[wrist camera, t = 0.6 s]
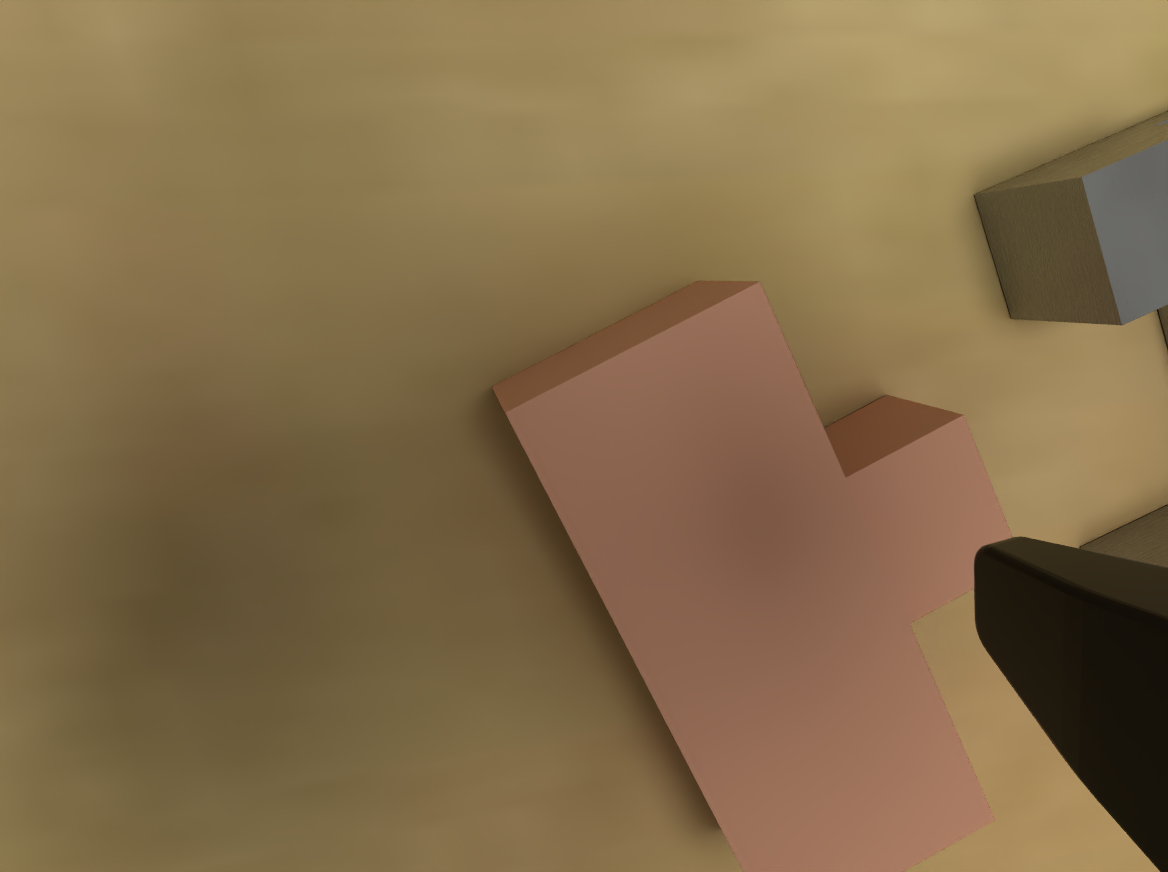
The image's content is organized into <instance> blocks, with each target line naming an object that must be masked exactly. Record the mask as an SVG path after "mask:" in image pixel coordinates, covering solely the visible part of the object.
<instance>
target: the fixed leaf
mask: <svg viewBox="0 0 1168 872" xmlns="http://www.w3.org/2000/svg"><path fill="white" fill-rule="evenodd" d="M975 199H976V202H977V205H978V209H979V212H980V215H981V219H982V222H983V225H984V229H985V232H986V235H987V238H988V242H989V245H990V248H991V252H992V255H993V258H994V262H995V265H996V268H997V272H998V275H999V278H1000V282H1001V285H1002V288H1003V292H1004V295H1005V298H1006V302H1007V305H1008V308H1009V312H1010V315H1011V318H1012V319H1021V320H1038V321H1056V322H1073V323H1091V324H1108V325H1124V324H1126V323H1128V322H1130V321H1133V320H1135V319H1137V318H1139V317H1141V316H1144V315H1146V314H1148V313H1150V312H1152V311H1155V310H1157V309H1158V311H1159V315H1160V319H1161V322H1162V326H1163V330H1164V334H1165V338H1166V341H1167V345H1168V111H1167V112H1164V113H1162V114H1160V115H1158V116H1155V117H1153V118H1151V119H1148V120H1146V121H1144V122H1141V123H1139V124H1137V125H1134V126H1132V127H1130V128H1127V129H1125V130H1123V131H1120V132H1118V133H1116V134H1114V135H1111V136H1109V137H1107V138H1104V139H1102V140H1100V141H1097V142H1095V143H1093V144H1090V145H1088V146H1086V147H1083V148H1081V149H1079V150H1076V151H1074V152H1072V153H1070V154H1067V155H1065V156H1063V157H1060V158H1058V159H1056V160H1053V161H1051V162H1049V163H1046V164H1044V165H1042V166H1039V167H1037V168H1035V169H1032V170H1030V171H1028V172H1026V173H1023V174H1021V175H1019V176H1016V177H1014V178H1012V179H1009V180H1007V181H1005V182H1002V183H1000V184H998V185H995V186H993V187H991V188H989V189H986V190H984V191H982V192H979V193H977V194H975ZM1080 548H1081V549H1083V550H1087V551H1092V552H1097V553H1101V554H1106V555H1111V556H1115V557H1120V558H1125V559H1129V560H1134V561H1139V562H1144V563H1148V564H1153V565H1158V566H1162V567H1167V568H1168V505H1167V506H1165V507H1163V508H1161V509H1159V510H1157V511H1155V512H1152V513H1150V514H1148V515H1146V516H1144V517H1142V518H1140V519H1138V520H1136V521H1134V522H1132V523H1130V524H1127V525H1125V526H1123V527H1121V528H1119V529H1117V530H1115V531H1113V532H1111V533H1109V534H1107V535H1104V536H1102V537H1100V538H1098V539H1096V540H1094V541H1092V542H1090V543H1088V544H1086V545H1084V546H1082V547H1080Z"/></svg>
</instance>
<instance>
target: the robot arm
mask: <svg viewBox="0 0 1168 872" xmlns="http://www.w3.org/2000/svg"><path fill="white" fill-rule="evenodd" d="M974 599H975V624H976V629H977V633H978V635H979V638H980V640H981V642H982V644H983V646H984V648H985V649H986V651H987V652H988V654H989V655H990V656H991V658H992V659H993V661H994V662H995V663H996V665H997V666H998V668H999V669H1000V670H1001V672H1002V673H1003V674H1004V676H1005V677H1006V679H1007V680H1008V681H1009V683H1010V684H1011V686H1012V687H1013V688H1014V690H1015V691H1016V693H1017V694H1018V695H1019V697H1020V698H1021V700H1022V701H1023V702H1024V704H1025V705H1026V707H1027V708H1028V709H1029V711H1030V712H1031V714H1032V715H1033V716H1034V718H1035V719H1036V721H1037V722H1038V723H1039V725H1040V726H1041V728H1042V729H1043V730H1044V732H1045V733H1046V735H1047V736H1048V737H1049V739H1050V740H1051V742H1052V743H1053V744H1054V746H1055V747H1056V749H1057V750H1058V751H1059V753H1060V754H1061V755H1062V757H1063V758H1064V759H1065V761H1066V762H1067V763H1068V765H1069V766H1070V767H1071V769H1072V770H1073V771H1074V773H1075V774H1076V775H1077V776H1078V778H1079V779H1080V780H1081V781H1082V782H1083V784H1084V785H1085V786H1086V787H1087V788H1088V790H1089V791H1090V792H1091V793H1092V794H1093V795H1094V797H1095V798H1096V799H1097V800H1098V801H1099V803H1100V804H1101V805H1102V806H1103V807H1104V808H1105V809H1106V810H1107V812H1108V813H1109V814H1110V815H1111V816H1112V817H1113V818H1114V820H1115V821H1116V822H1117V823H1118V824H1119V825H1120V826H1121V828H1122V829H1123V830H1124V831H1125V832H1126V833H1127V834H1128V835H1129V837H1130V838H1131V839H1132V840H1133V841H1134V842H1135V843H1136V845H1137V846H1138V847H1139V848H1140V849H1141V850H1142V851H1143V853H1144V854H1145V855H1146V856H1147V857H1148V858H1149V859H1150V860H1151V862H1152V863H1153V864H1154V865H1155V866H1156V867H1157V868H1158V870H1159V871H1160V872H1168V568H1167V567H1162V566H1158V565H1153V564H1148V563H1144V562H1139V561H1134V560H1129V559H1125V558H1120V557H1115V556H1111V555H1106V554H1101V553H1097V552H1092V551H1087V550H1083V549H1078V548H1073V547H1069V546H1064V545H1059V544H1055V543H1050V542H1045V541H1040V540H1036V539H1031V538H1026V537H1013V538H1009V539H1005V540H1002V541H998V542H995V543H991V544H987V545H984V546H982V547H981V548H980V549H979V550H978V551H977V552H976V555H975V558H974Z"/></svg>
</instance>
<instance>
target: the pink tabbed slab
mask: <svg viewBox="0 0 1168 872" xmlns="http://www.w3.org/2000/svg"><path fill="white" fill-rule="evenodd" d="M492 388H493V390H494V392H495V394H496V396H497V398H498V400H499V402H500V404H501V406H502V408H503V410H504V412H505V414H506V415H507V417H508V419H509V421H510V423H511V425H512V427H513V429H514V431H515V433H516V435H517V437H518V439H519V440H520V442H521V444H522V446H523V448H524V450H525V452H526V454H527V456H528V458H529V460H530V462H531V464H532V466H533V467H534V469H535V471H536V473H537V475H538V477H539V479H540V481H541V483H542V485H543V487H544V489H545V491H546V492H547V494H548V496H549V498H550V500H551V502H552V504H553V506H554V508H555V510H556V512H557V514H558V516H559V518H560V519H561V521H562V523H563V525H564V527H565V529H566V531H567V533H568V535H569V537H570V539H571V541H572V543H573V544H574V546H575V548H576V550H577V552H578V554H579V556H580V558H581V560H582V562H583V564H584V566H585V568H586V570H587V571H588V573H589V575H590V577H591V579H592V581H593V583H594V585H595V587H596V589H597V591H598V593H599V595H600V596H601V598H602V600H603V602H604V604H605V606H606V608H607V610H608V612H609V614H610V616H611V618H612V620H613V622H614V623H615V625H616V627H617V629H618V631H619V633H620V635H621V637H622V639H623V641H624V643H625V645H626V647H627V648H628V650H629V652H630V654H631V656H632V658H633V660H634V662H635V664H636V666H637V668H638V670H639V672H640V674H641V675H642V677H643V679H644V681H645V683H646V685H647V687H648V689H649V691H650V693H651V695H652V697H653V699H654V700H655V702H656V704H657V706H658V708H659V710H660V712H661V714H662V716H663V718H664V720H665V722H666V724H667V726H668V727H669V729H670V731H671V733H672V735H673V737H674V739H675V741H676V743H677V745H678V747H679V749H680V751H681V752H682V754H683V756H684V758H685V760H686V762H687V764H688V766H689V768H690V770H691V772H692V774H693V776H694V778H695V779H696V781H697V783H698V785H699V787H700V789H701V791H702V793H703V795H704V797H705V799H706V801H707V803H708V804H709V806H710V808H711V810H712V812H713V814H714V816H715V818H716V820H717V822H718V824H719V826H720V828H721V830H722V831H723V833H724V835H725V837H726V839H727V841H728V843H729V845H730V847H731V849H732V851H733V853H734V855H735V856H736V858H737V860H738V862H739V864H740V866H741V868H742V870H743V872H904V871H906V870H907V869H909V868H911V867H913V866H914V865H916V864H918V863H920V862H922V861H923V860H925V859H927V858H929V857H930V856H932V855H934V854H936V853H937V852H939V851H941V850H943V849H944V848H946V847H948V846H950V845H952V844H953V843H955V842H957V841H959V840H960V839H962V838H964V837H966V836H967V835H969V834H971V833H973V832H975V831H976V830H978V829H980V828H982V827H983V826H985V825H987V824H989V823H990V822H992V821H994V820H995V818H994V816H993V814H992V811H991V809H990V807H989V805H988V802H987V800H986V798H985V795H984V793H983V791H982V789H981V786H980V784H979V782H978V779H977V777H976V775H975V773H974V770H973V768H972V766H971V763H970V761H969V759H968V757H967V754H966V752H965V750H964V747H963V745H962V743H961V741H960V738H959V736H958V734H957V731H956V729H955V727H954V724H953V722H952V720H951V718H950V715H949V713H948V711H947V708H946V706H945V704H944V702H943V699H942V697H941V695H940V692H939V690H938V688H937V686H936V683H935V681H934V679H933V676H932V674H931V672H930V670H929V667H928V665H927V663H926V660H925V658H924V656H923V654H922V651H921V649H920V647H919V644H918V642H917V640H916V638H915V635H914V633H913V631H912V628H911V626H910V623H912V622H914V621H915V620H917V619H919V618H921V617H923V616H924V615H926V614H928V613H930V612H932V611H934V610H935V609H937V608H939V607H941V606H943V605H945V604H946V603H948V602H950V601H952V600H954V599H956V598H957V597H959V596H961V595H963V594H965V593H967V592H968V591H970V590H972V589H974V558H975V555H976V552H977V551H978V550H979V549H980V548H981V547H982V546H984V545H987V544H991V543H995V542H998V541H1002V540H1005V539H1009V538H1013V537H1012V535H1011V532H1010V530H1009V527H1008V525H1007V522H1006V520H1005V517H1004V515H1003V512H1002V510H1001V507H1000V505H999V502H998V500H997V497H996V495H995V492H994V490H993V487H992V485H991V482H990V480H989V477H988V475H987V472H986V470H985V467H984V465H983V462H982V460H981V457H980V455H979V452H978V450H977V447H976V445H975V442H974V440H973V437H972V435H971V432H970V430H969V427H968V425H967V422H966V420H965V417H964V415H962V414H958V413H954V412H950V411H947V410H943V409H939V408H935V407H931V406H927V405H924V404H920V403H916V402H912V401H908V400H904V399H901V398H897V397H893V396H889V395H886V396H884V397H882V398H880V399H878V400H876V401H874V402H872V403H871V404H869V405H867V406H865V407H863V408H861V409H859V410H857V411H855V412H854V413H852V414H850V415H848V416H846V417H844V418H842V419H840V420H838V421H836V422H835V423H833V424H831V425H829V426H827V427H825V428H824V427H823V425H822V423H821V420H820V418H819V416H818V413H817V411H816V409H815V407H814V404H813V402H812V400H811V397H810V395H809V393H808V391H807V388H806V386H805V384H804V381H803V379H802V377H801V375H800V372H799V370H798V368H797V365H796V363H795V361H794V359H793V356H792V354H791V352H790V349H789V347H788V345H787V343H786V340H785V338H784V336H783V333H782V331H781V329H780V327H779V324H778V322H777V320H776V317H775V315H774V313H773V311H772V308H771V306H770V304H769V301H768V299H767V297H766V295H765V292H764V290H763V288H762V285H761V283H760V282H744V281H696V282H694V283H692V284H691V285H689V286H687V287H685V288H683V289H681V290H679V291H677V292H675V293H673V294H671V295H669V296H667V297H665V298H663V299H661V300H659V301H657V302H656V303H654V304H652V305H650V306H648V307H646V308H644V309H642V310H640V311H638V312H636V313H634V314H632V315H630V316H628V317H626V318H624V319H623V320H621V321H619V322H617V323H615V324H613V325H611V326H609V327H607V328H605V329H603V330H601V331H599V332H597V333H595V334H593V335H591V336H590V337H588V338H586V339H584V340H582V341H580V342H578V343H576V344H574V345H572V346H570V347H568V348H566V349H564V350H562V351H560V352H558V353H556V354H555V355H553V356H551V357H549V358H547V359H545V360H543V361H541V362H539V363H537V364H535V365H533V366H531V367H529V368H527V369H525V370H523V371H522V372H520V373H518V374H516V375H514V376H512V377H510V378H508V379H506V380H504V381H502V382H500V383H498V384H496V385H494V386H492Z"/></svg>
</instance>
